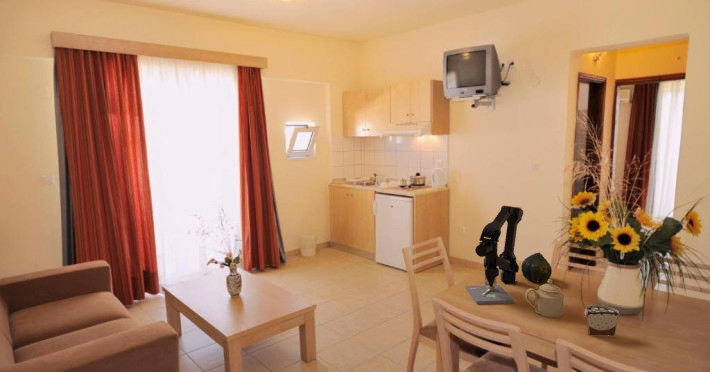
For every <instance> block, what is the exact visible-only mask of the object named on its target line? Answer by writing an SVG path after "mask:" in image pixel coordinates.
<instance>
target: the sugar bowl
mask: <svg viewBox="0 0 710 372" xmlns="http://www.w3.org/2000/svg"><path fill="white" fill-rule="evenodd" d="M538 288H539V289H534V288H531V287H530V288H528V289H526V291H525V295H524V296H525V300H526V302H527V303H528V304H529V305H530V306H531V307H533V308H534V311H535V312H536V314H538V315H540V316H543V317H546V318H560V317H563V313H564V302H565V301H564V297H565V296H564V294H563V293H562V292H561V288H560V287H558V286H557V285H555V284H553V280H552V278H549V279H547V283H543V284H542V285H539V287H538ZM530 292H533V293H534V297H535V298H534V304H533V303H532V302H531V301H530V298H529V294H530Z"/></svg>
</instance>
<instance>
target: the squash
mask: <svg viewBox="0 0 710 372" xmlns="http://www.w3.org/2000/svg"><path fill="white" fill-rule="evenodd" d="M520 268H521V269H520V270H521V273H522V276H523V278H525V279H528V280H532V282H533V283H539V282H540V283H543V282H545V281H548V280H549V279H551V276H552V271H553V270H552V269H553V268H552V266H551V265H550V263H549V262H548V260H547V259H546V258H545V257H544V255H543V254H542V253H541V252H536V253H535V252H534V253H533V254H531V255H529V256H527V257H526V258H524V260H523V261H522V263H521V266H520Z"/></svg>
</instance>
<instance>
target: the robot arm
mask: <svg viewBox="0 0 710 372" xmlns="http://www.w3.org/2000/svg"><path fill="white" fill-rule="evenodd" d="M523 216H524V210H523V209H522V207H519V206H510V205H501V208H500V210H499V212H498V213H497V215H496V216H495V217H494V219H493V221H491V222H489V223H487V224H486V225H485V226H484V227H483V228H482V230H481V234H480V236H479V244H478V245H477V246H476V247H475V249H474V250H475V253H476V255H477V256H478V257H480V258H483V257H484V258H483V267H484V276H485V275H486V278H487V280H488V283H489V285H490V287H492V286H493V283H494V279H495V277H496V276H497V277H499V276H500V279H499V280H500V281H501V282H502V283H503V284H504V285H506V284H507V285H508V284H510V285H511V284H512V285H514V284H518V283H517V281H516V280H517V279H516V278H517V273H519V270H520V266H519V264H518V263H517V256H516V254H515V245H516V238H517V229H518V224H520V222H521V221H522V219H523ZM505 223H507V224H506V225H507V226H506V232H505V241H504V248H503V251H502V252H501V253H499V255H498V246H499V244H498V242H500V238H501V234H502V227H503V226H504V224H505ZM500 271H501V272H500Z"/></svg>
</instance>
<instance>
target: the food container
mask: <svg viewBox="0 0 710 372" xmlns="http://www.w3.org/2000/svg"><path fill="white" fill-rule="evenodd" d="M584 316H586V325H587V329H586V330H587V335H588V336H589V337H590V336H591V337H615V336H616V331H617V325H618V320H619V317H621V313H620V310H618V309H616V308H614V307H610V306H607V305H600V304H592V305H588V306H587V307H585V309H584ZM608 335H609V336H608Z"/></svg>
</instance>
